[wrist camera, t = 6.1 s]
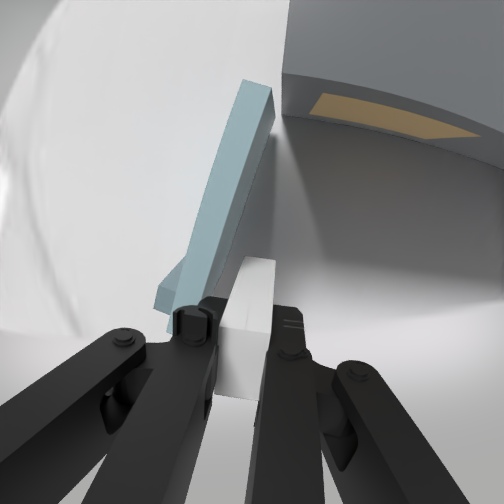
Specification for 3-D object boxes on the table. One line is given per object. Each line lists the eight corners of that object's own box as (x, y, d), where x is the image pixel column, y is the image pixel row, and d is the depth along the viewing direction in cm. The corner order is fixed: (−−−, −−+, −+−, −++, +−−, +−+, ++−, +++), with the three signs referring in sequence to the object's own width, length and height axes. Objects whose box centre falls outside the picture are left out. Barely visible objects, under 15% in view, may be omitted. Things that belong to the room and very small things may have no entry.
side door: (242, 106, 17) (214, 71, 9) (275, 116, 17) (271, 87, 9) (192, 261, 20) (144, 323, 12) (222, 272, 20) (188, 340, 12)
